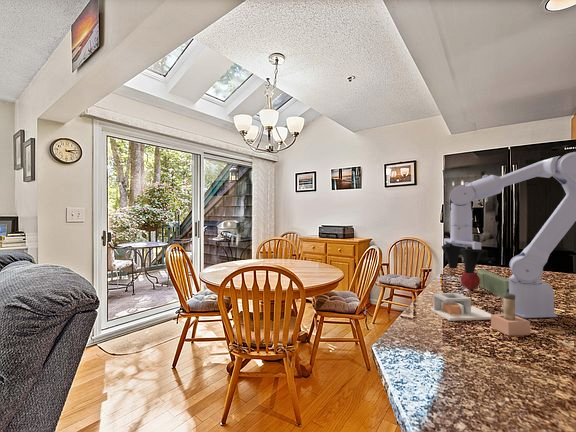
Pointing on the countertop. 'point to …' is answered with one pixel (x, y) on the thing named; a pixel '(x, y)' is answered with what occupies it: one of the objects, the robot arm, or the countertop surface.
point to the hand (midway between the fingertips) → (461, 270)
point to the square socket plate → (465, 307)
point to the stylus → (509, 306)
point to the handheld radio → (493, 282)
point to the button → (452, 308)
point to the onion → (470, 280)
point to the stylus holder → (510, 325)
